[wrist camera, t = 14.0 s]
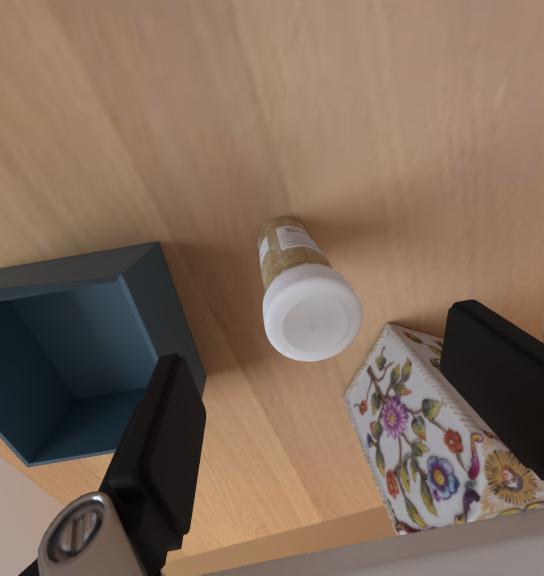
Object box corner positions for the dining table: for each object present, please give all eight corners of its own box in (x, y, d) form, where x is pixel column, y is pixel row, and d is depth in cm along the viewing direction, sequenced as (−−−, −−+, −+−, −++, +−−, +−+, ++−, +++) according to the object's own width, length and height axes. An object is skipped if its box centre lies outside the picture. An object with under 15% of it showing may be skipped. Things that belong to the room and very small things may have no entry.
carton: (-10, 270, 24) (-113, 314, 17) (158, 241, 24) (122, 274, 17) (75, 399, 31) (27, 467, 24) (206, 377, 30) (194, 439, 24)
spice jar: (246, 244, 24) (242, 331, 12) (281, 204, 23) (316, 257, 11) (284, 275, 26) (314, 380, 14) (319, 239, 24) (386, 320, 12)
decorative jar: (419, 414, 36) (559, 630, 19) (339, 398, 33) (422, 627, 17) (476, 342, 31) (722, 547, 15) (387, 317, 29) (563, 527, 12)
